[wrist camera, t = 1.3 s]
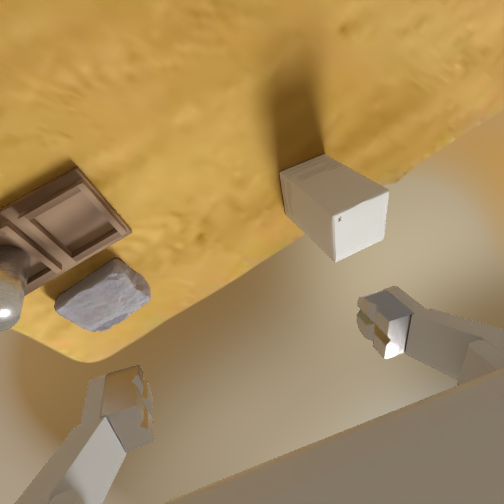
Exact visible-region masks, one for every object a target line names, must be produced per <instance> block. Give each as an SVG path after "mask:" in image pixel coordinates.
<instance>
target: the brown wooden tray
mask: <svg viewBox="0 0 504 504" xmlns="http://www.w3.org/2000/svg"><path fill="white" fill-rule="evenodd" d="M131 233H132V230H131V228H130V227H129V226H128V225H127V224H126V223H125V221H124V220H123V219H122V218H121V217H120V216H119V214H118V213H117V212H116V211H115V210H114V209H113V207H112V206H111V205H110V204H109V203H108V202H107V200H106V199H105V198H104V197H103V196H102V195H101V193H100V192H99V191H98V190H97V189H96V188H95V186H94V185H93V184H92V183H91V182H90V181H89V179H88V178H87V177H86V176H85V175H84V174H83V172H82V171H81V170H80V169H79V168H78V167H75V168H73V169H71V170H69V171H68V172H66V173H64V174H62V175H61V176H59V177H57V178H55V179H53V180H52V181H50V182H48V183H46V184H45V185H43V186H41V187H39V188H37V189H36V190H34V191H32V192H30V193H28V194H27V195H25V196H23V197H21V198H20V199H18V200H16V201H14V202H12V203H11V204H9V205H7V206H5V207H4V208H2V209H0V245H12V246H16V247H19V248H21V249H23V250H24V251H25V252H27V254H28V255H29V256H30V259H31V265H30V270H29V275H28V280H27V285H26V290H25V295H27V294H28V293H30V292H32V291H34V290H35V289H37V288H39V287H40V286H42V285H44V284H45V283H47V282H49V281H51V280H52V279H54V278H56V277H57V276H59V275H61V274H63V273H64V272H66V271H68V270H69V269H71V268H73V267H74V266H76V265H78V264H80V263H81V262H83V261H85V260H86V259H88V258H90V257H92V256H93V255H95V254H97V253H98V252H100V251H102V250H103V249H105V248H107V247H109V246H110V245H112V244H114V243H115V242H117V241H119V240H121V239H122V238H124V237H126V236H127V235H129V234H131ZM25 295H24V296H25Z"/></svg>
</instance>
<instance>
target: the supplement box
mask: <svg viewBox="0 0 504 504" xmlns="http://www.w3.org/2000/svg"><path fill="white" fill-rule="evenodd" d="M279 174H280V181H281V187H282V194H283V200H284V207H285V213H286V216H287V217H288V218H289V219H290V220H292V221H293V222H294V223H295V224H296V225H297V226H298V227H299V228H300V229H301V230H302V231H303V232H304V233H305V234H306V235H307V236H308V237H309V238H310V239H311V240H312V241H314V243H315V244H316V245H317V246H318V247H319V248H321V249H322V250H323V251H324V252H325V253H326V254H327V255H328V256H329V257H330V258H331V259H332V260H333V261H334V262H337V261H339V260H341V259H343V258H345V257H348V256H350V255H352V254H353V253H356V252H358V251H359V250H362V249H364V248H366V247H368V246H370V245H372V244H374V243H376V242H378V241H381V240H383V239H384V233H385V222H386V214H387V206H388V197H389V190H388V189H387V188H385V187H383V186H381V185H379V184H377V183H376V182H374V181H372V180H370V179H368V178H367V177H365V176H363V175H361V174H359V173H358V172H356V171H354V170H352V169H351V168H349V167H347V166H345V165H343V164H342V163H340V162H338V161H336V160H334V159H333V158H331V157H329V156H327V155H326V154H323V155H321V156H318V157H316V158H313V159H311V160H308V161H306V162H303V163H301V164H298V165H296V166H294V167H291V168H289V169H286V170H284V171H281V172H280V173H279Z"/></svg>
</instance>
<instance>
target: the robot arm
mask: <svg viewBox="0 0 504 504" xmlns="http://www.w3.org/2000/svg"><path fill="white" fill-rule="evenodd" d="M357 304H358V307H359V308H360V311H359V312H358V314H357V324H358V328H359V329H360V331H361V333H362V334H363V335H364V337H365V338H366V339H369V340H371V341H373V347H374V348H375V349H376V350H377V351H378V353H379V354H380V355H381V356H382V357H383V358H384V359H387V358H390V357H393V356H396V355H400V354H403V353H405V354H407V355H408V356H410V357H412V358H414V359H416V360H418V361H420V362H422V363H424V364H426V365H428V366H430V367H432V368H434V369H436V370H438V371H440V372H442V373H444V374H446V375H448V376H450V377H452V378H454V379H456V380H458V383H457V386H455V387H453V388H450V389H448V390H445V391H443V392H440V393H438V394H435V395H433V396H430V397H428V398H425V399H423V400H420V401H418V402H415V403H412V404H410V405H408V406H405V407H403V408H400V409H397V410H395V411H392V412H390V413H388V414H385V415H383V416H380V417H377V418H375V419H372V420H370V421H367V422H365V423H362V424H360V425H357V426H355V427H353V428H350V429H347V430H345V431H343V432H340V433H337V434H335V435H333V436H330V437H327V438H325V439H323V440H320V441H317V442H315V443H312V444H310V445H307V446H305V447H302V448H300V449H297V450H294V451H292V452H289V453H287V454H284V455H282V456H279V457H277V458H274V459H272V460H269V461H267V462H264V463H262V464H259V465H257V466H254V467H252V468H249V469H247V470H244V471H242V472H239V473H237V474H234V475H232V476H229V477H227V478H224V479H222V480H219V481H217V482H214V483H211V484H209V485H207V486H204V487H202V488H199V489H196V490H194V491H191V492H189V493H186V494H184V495H181V496H179V497H176V498H174V499H171V500H169V501H166V502H164V503H161V504H504V330H503V329H500V328H496V327H493V326H489V325H486V324H483V323H479V322H475V321H472V320H469V319H465V318H461V317H458V316H455V315H451V314H448V313H444V312H441V311H437V310H434V309H428V310H427V309H426V308H424V307H423V306H422V305H421V304H419V303H418V302H417V301H415V300H414V299H413V298H411V297H410V296H409V295H408V294H406V293H405V292H404V291H402V290H401V289H400V288H399V287H396V286H392V287H389V288H386V289H383V290H380V291H377V292H374V293H371V294H367V295H364V296H361V297H359V299H358V303H357ZM143 374H144V373H143V370H142V368H141V366H140V365H136V366H132V367H129V368H125V369H122V370H118V371H115V372H111V373H108V374H105V375H102V376H98V377H94V378H92V379H91V380H90V381H89V383H88V388H87V393H86V399H85V404H84V409H83V414H82V420H81V424H80V425H78V426H75V428H74V429H73V430H72V431H71V433H70V434H69V435H68V436H67V438H66V439H65V440H64V441H63V443H62V444H61V445H60V446H59V448H58V449H57V450H56V452H55V453H54V454H53V456H52V457H51V458H50V459H49V460H48V462H47V463H46V464H45V466H44V467H43V468H42V470H41V471H40V472H39V473H38V475H37V476H36V477H35V478H34V480H33V481H32V482H31V483H30V485H29V486H28V487H27V489H26V490H25V491H24V492H23V494H22V495H21V496H20V498H19V499H18V500H17V501H16V503H15V504H102V502H103V500H104V498H105V496H106V494H107V492H108V490H109V488H110V486H111V484H112V482H113V480H114V478H115V476H116V474H117V472H118V470H119V468H120V466H121V464H122V462H123V460H124V458H125V456H126V452H129V451H131V450H134V449H136V448H138V447H141V446H144V445H147V444H149V443H151V442H154V432H153V431H154V430H153V420H152V418H151V416H150V414H151V412H152V411H153V401H152V395H151V390H150V387H149V384H148V382H147V381H145V380H144V375H143Z"/></svg>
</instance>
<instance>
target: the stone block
mask: <svg viewBox="0 0 504 504" xmlns="http://www.w3.org/2000/svg"><path fill="white" fill-rule="evenodd" d="M150 295H151V293H150V287H149V285H148V283H147V282H146V280H145V279H144V277H143V276H142V275H140V274H138V273H137V272H136V271H133V270H131V269H130V268H129V266H127V265H126V264H125V263H123V262H122V261H121V260H119V259H117V258H114V259H112V260H110V261H109V262H107V263H106V264H105V265H103V266H102V267H100V268H99V269H97V270H96V271H94V272H93V273H91V274H90V275H88V276H87V277H86V278H84V279H83V280H81V281H80V282H78V283H77V284H76V285H74V286H72V287H71V288H69V289H68V290H66V291H65V292H64V293H62V294H61V295H60V296H59V297H58V298H57V299H56V301H55V305H54V308H55V311H56V312H57V313H58V314H59V315H60V316H63V317H64V318H66V319H68V320H70V321H71V322H73V323H75V324H76V325H78V326H80V327H81V328H83V329H86V330H89V331H92V332H96V331H105V330H108V329H110V328H111V327H112V326H113V325H115V324H118V323H120V322H121V321H123V320H124V319H126V318H127V317H128V316H129V315H130V314H132V313H133V312H135V311H136V310H138V309H139V308H140V307H141V306H143V305H145V304H146V303H147V302H148V301H150V297H151V296H150Z"/></svg>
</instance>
